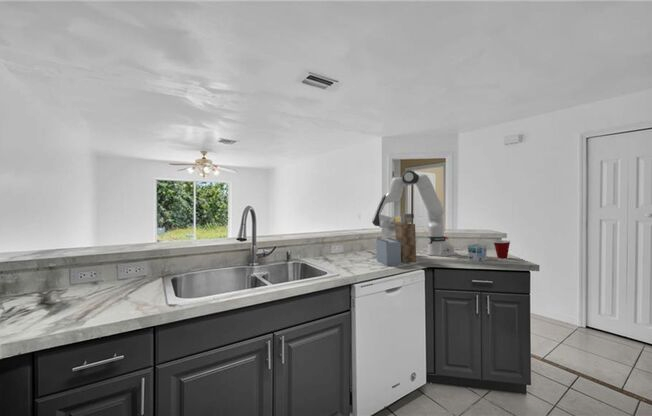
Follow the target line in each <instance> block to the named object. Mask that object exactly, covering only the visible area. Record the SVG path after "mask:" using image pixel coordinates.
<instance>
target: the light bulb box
mask: <svg viewBox="0 0 652 416" xmlns="http://www.w3.org/2000/svg"><path fill="white" fill-rule="evenodd" d="M467 251H468V252H467V256H468V258H467V259H468V261H469V262H470V261H471V262H475V263H477V262H479V263H480V262H483V261H484V262H485V261H487V259H488V258H487V244H484V243H483V244H482V243H472V244H468V245H467Z"/></svg>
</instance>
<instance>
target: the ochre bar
mask: <svg viewBox="0 0 652 416" xmlns="http://www.w3.org/2000/svg"><path fill="white" fill-rule="evenodd" d="M412 216H413V215H412V213H400V216H392V217H393V218H395V221H394V222H401V223H410V224H413V223H412V221H413V219H412V218H413V217H412Z"/></svg>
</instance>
